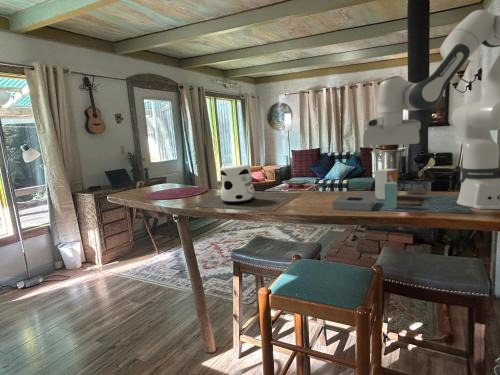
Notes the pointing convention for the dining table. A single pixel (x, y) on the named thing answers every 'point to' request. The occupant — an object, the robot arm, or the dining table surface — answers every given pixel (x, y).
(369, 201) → the socket
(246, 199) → the milk container
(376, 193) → the small box
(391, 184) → the peg
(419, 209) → the dining table surface
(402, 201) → the dining table surface
